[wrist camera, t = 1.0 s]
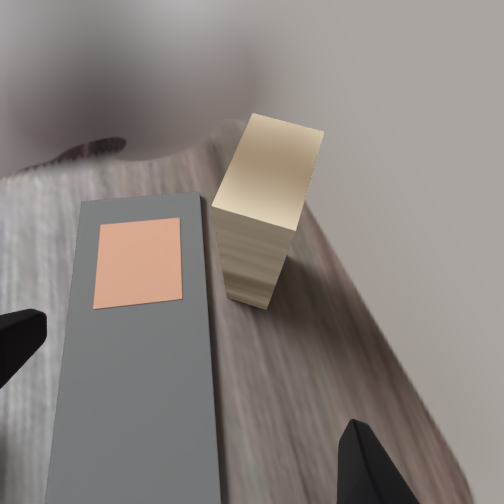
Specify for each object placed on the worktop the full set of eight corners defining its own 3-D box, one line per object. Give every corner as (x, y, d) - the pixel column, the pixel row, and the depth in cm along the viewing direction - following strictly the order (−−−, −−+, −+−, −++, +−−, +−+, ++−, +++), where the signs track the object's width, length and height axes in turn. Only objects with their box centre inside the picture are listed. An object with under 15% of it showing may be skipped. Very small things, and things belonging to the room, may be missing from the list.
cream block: (266, 310, 22) (295, 231, 10) (226, 297, 23) (211, 206, 11) (283, 253, 24) (324, 131, 12) (247, 242, 25) (252, 113, 13)
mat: (221, 500, 18) (220, 504, 17) (47, 530, 17) (40, 535, 16) (200, 195, 26) (199, 191, 26) (84, 205, 25) (80, 201, 25)
